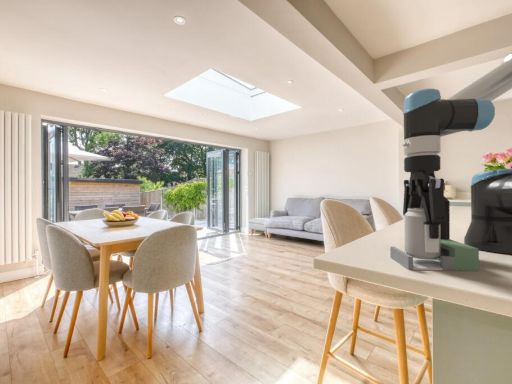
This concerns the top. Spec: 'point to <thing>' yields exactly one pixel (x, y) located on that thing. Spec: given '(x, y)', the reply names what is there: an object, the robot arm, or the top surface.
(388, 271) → the top surface
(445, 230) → the bottle
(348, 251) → the top surface
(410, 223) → the can
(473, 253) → the green and grey holder
